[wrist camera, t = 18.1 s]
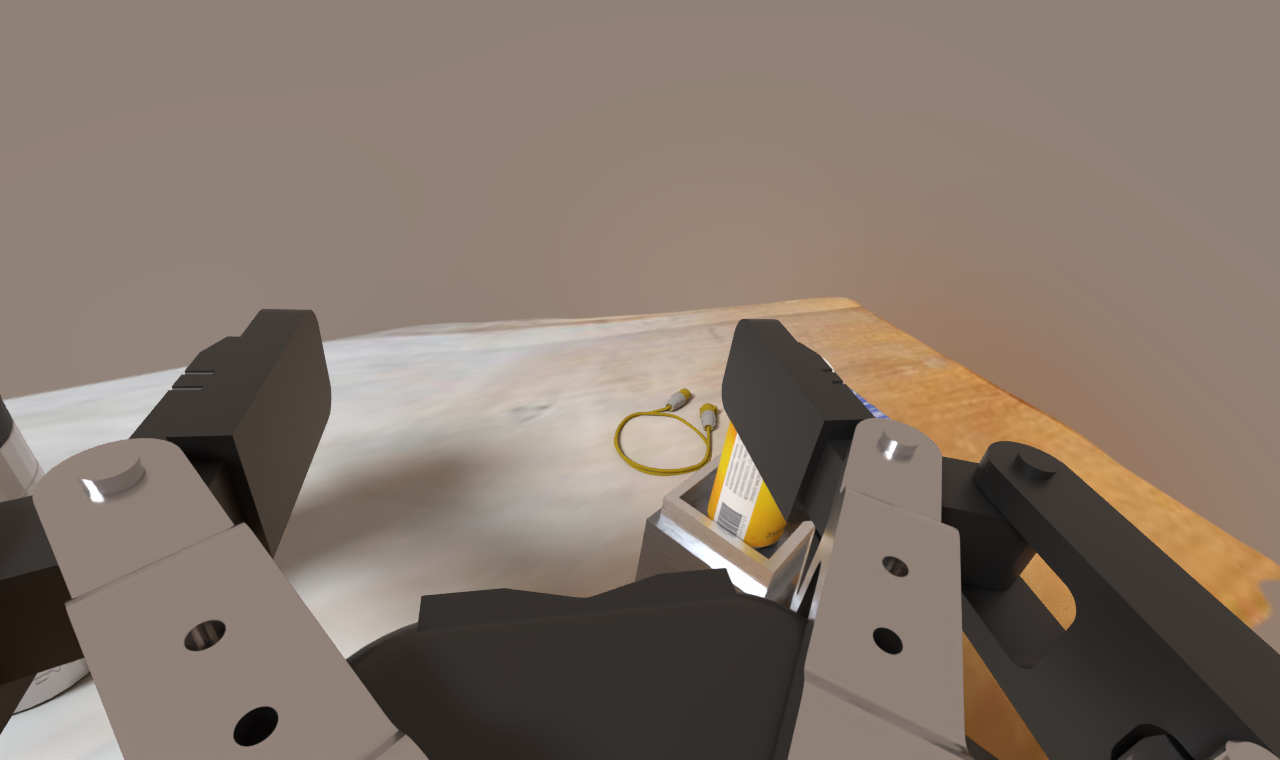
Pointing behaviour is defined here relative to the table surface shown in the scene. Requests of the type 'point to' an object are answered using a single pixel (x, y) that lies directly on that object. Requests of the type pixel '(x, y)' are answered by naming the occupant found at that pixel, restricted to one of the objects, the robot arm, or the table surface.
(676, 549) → the grey hollow box
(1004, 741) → the table surface
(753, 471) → the beer can
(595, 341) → the table surface
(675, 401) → the extension cord
